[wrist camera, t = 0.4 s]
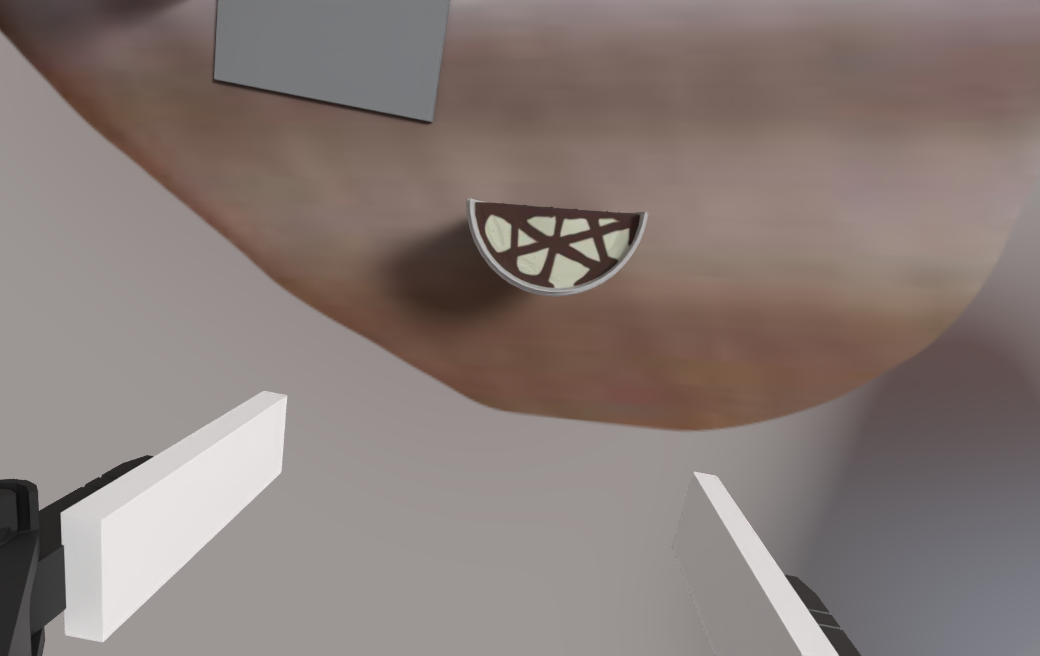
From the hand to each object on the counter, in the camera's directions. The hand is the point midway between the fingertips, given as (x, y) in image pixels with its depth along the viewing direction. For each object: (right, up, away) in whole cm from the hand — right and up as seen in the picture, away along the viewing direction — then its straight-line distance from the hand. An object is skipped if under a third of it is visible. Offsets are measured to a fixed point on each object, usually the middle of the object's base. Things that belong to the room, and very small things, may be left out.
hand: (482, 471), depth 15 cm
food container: (+4, +11, +26) cm, 29 cm away
